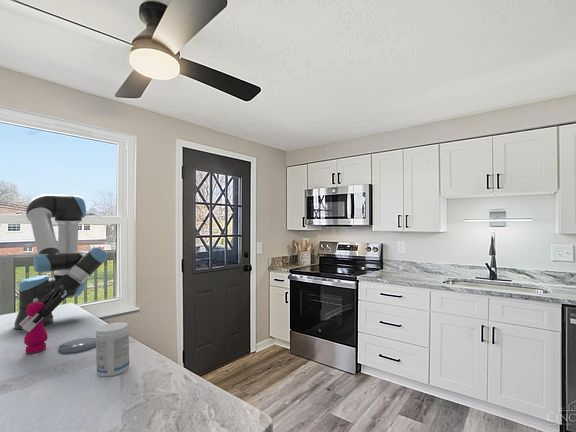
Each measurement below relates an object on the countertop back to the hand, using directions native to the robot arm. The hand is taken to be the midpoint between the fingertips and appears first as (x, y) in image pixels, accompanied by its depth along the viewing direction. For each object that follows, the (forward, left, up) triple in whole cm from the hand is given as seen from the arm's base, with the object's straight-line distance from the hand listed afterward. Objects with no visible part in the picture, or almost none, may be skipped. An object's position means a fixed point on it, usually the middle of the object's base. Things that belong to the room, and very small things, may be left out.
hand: (23, 328), depth 121 cm
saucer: (+13, +12, -10) cm, 21 cm away
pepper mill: (+1, +4, -10) cm, 10 cm away
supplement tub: (+45, +1, -10) cm, 46 cm away
